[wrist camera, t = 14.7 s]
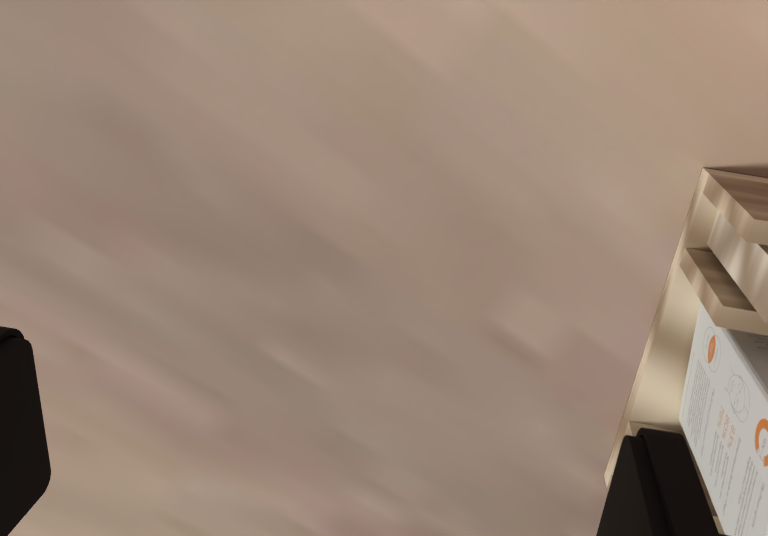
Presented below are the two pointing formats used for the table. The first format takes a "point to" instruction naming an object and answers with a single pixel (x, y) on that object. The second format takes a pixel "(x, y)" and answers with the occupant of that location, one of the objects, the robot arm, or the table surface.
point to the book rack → (702, 298)
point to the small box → (729, 422)
